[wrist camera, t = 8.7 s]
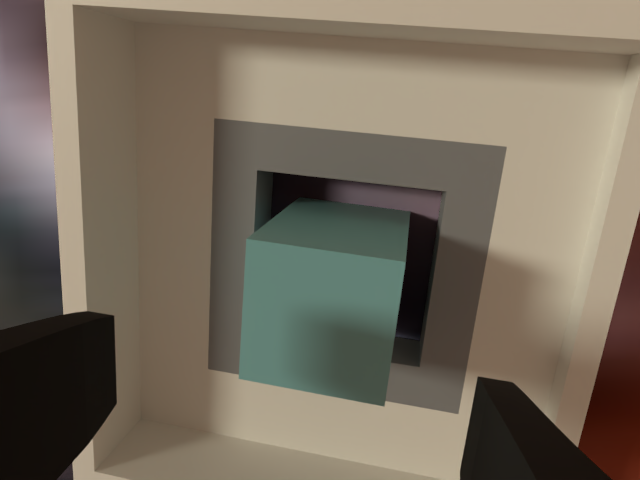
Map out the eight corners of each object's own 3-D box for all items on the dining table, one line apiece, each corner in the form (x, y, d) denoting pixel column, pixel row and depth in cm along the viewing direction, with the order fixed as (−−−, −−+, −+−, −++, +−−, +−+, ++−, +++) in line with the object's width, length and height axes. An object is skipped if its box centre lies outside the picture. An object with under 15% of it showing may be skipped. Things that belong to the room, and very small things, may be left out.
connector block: (395, 315, 19) (384, 406, 13) (291, 298, 20) (238, 378, 14) (410, 211, 18) (405, 262, 12) (299, 197, 19) (246, 238, 13)
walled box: (533, 479, 20) (569, 599, 15) (148, 404, 22) (74, 486, 17) (639, 34, 15) (738, 4, 10) (143, 4, 18) (42, -32, 13)
